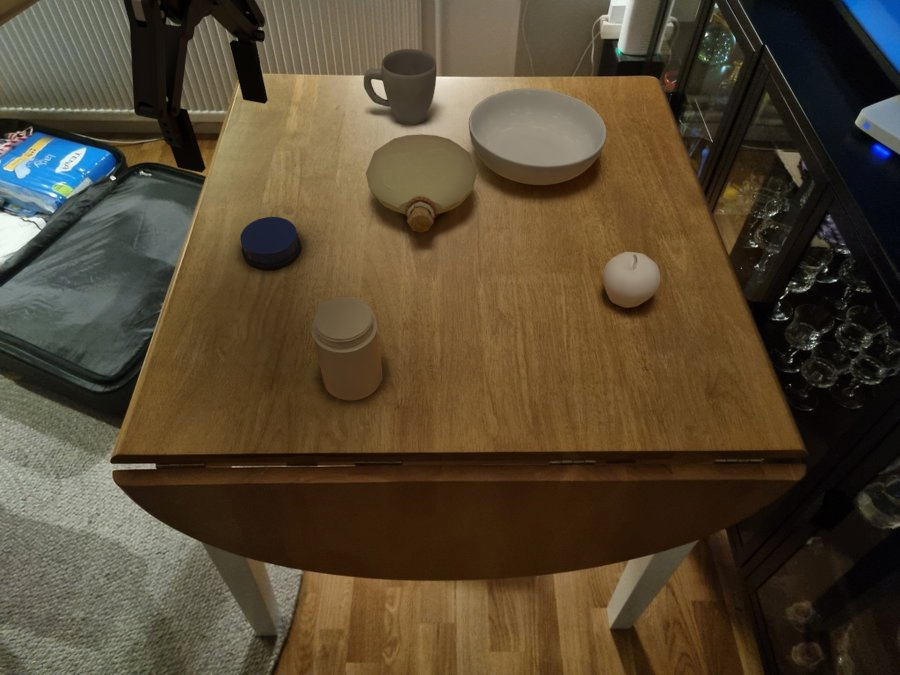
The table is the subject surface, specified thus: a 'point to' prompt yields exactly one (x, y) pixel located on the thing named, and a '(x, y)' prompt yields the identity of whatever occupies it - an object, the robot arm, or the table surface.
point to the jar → (348, 347)
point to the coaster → (277, 265)
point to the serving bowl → (536, 135)
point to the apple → (631, 279)
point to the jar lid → (269, 240)
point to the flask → (421, 177)
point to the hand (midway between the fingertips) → (225, 132)
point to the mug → (405, 84)
